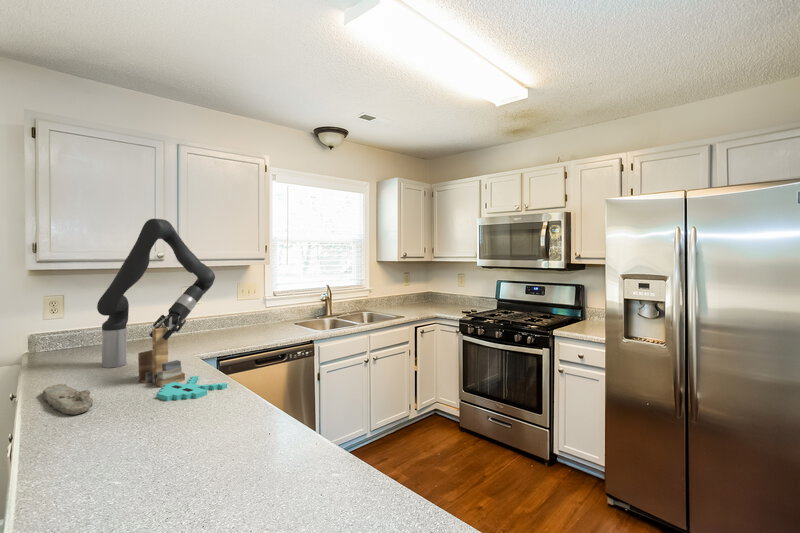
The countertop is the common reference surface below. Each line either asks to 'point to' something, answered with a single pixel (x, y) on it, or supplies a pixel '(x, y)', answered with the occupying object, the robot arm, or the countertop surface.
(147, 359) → the rack
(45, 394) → the elongated rock
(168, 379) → the offcut stack
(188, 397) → the alien figure
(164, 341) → the tall panel
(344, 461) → the countertop surface
